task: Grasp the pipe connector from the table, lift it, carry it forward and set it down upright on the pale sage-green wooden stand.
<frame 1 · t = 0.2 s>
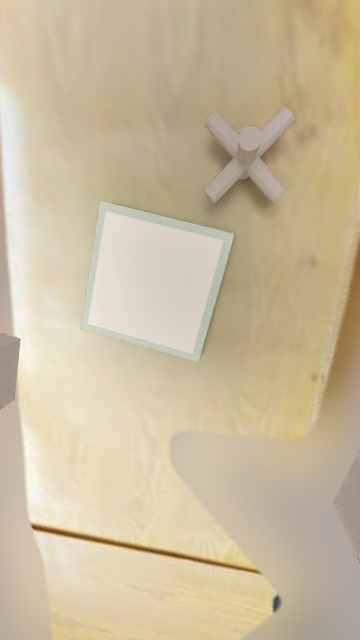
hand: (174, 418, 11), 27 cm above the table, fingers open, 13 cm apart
stand: (157, 282, 37), on the table
pipe connector: (242, 171, 33), on the table
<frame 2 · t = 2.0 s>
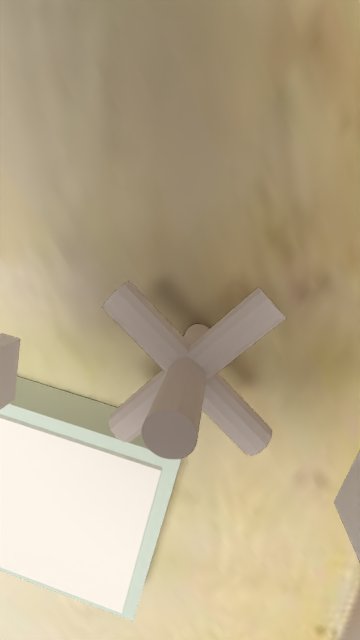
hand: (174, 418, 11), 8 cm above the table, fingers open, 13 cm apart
stand: (70, 479, 23), on the table
pipe connector: (198, 336, 19), on the table
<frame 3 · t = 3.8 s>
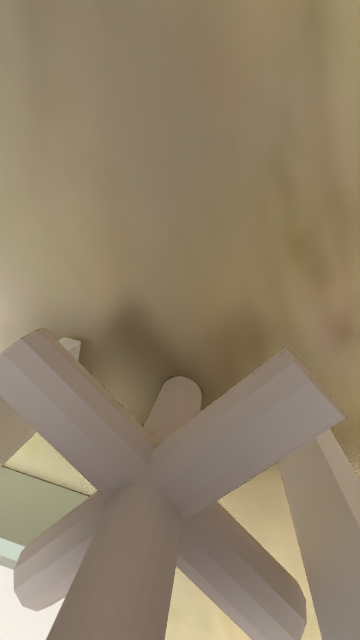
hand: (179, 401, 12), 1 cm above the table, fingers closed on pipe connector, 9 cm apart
stand: (8, 578, 17), on the table
pipe connector: (181, 393, 12), on the table, touching gripper
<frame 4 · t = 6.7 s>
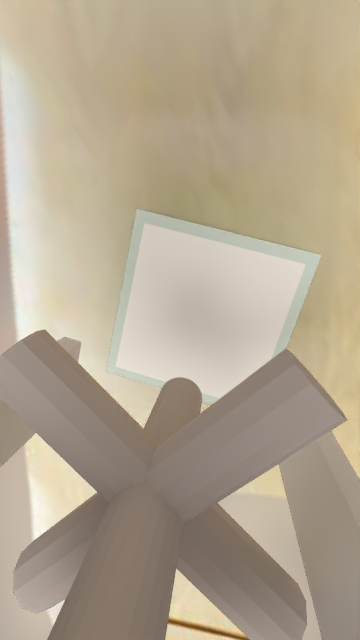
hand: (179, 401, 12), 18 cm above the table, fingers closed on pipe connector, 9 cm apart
stand: (204, 312, 29), on the table
pipe connector: (181, 394, 12), point 17 cm above the table, touching gripper
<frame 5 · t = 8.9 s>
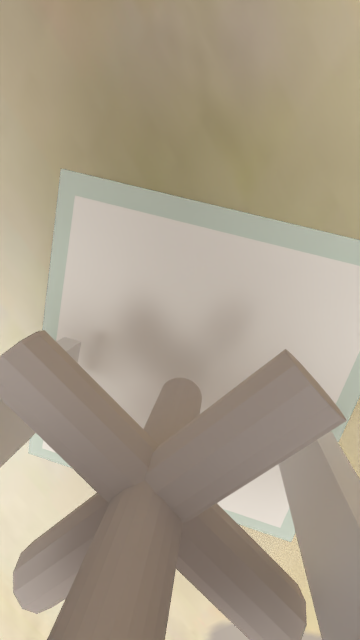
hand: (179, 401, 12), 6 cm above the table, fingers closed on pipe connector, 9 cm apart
stand: (194, 353, 17), on the table
pipe connector: (181, 394, 12), point 5 cm above the table, touching gripper
when the fingers open (5 cm above the table, at t = 10.0 s): pipe connector drops 1 cm, resting on stand.
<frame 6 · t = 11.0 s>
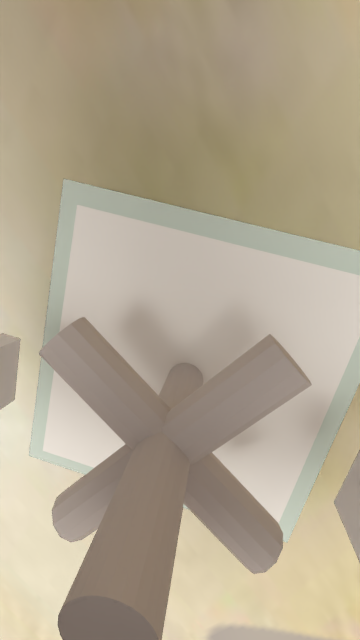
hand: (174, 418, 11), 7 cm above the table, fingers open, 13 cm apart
stand: (191, 357, 18), on the table
pipe connector: (186, 378, 15), point 3 cm above the table, touching stand
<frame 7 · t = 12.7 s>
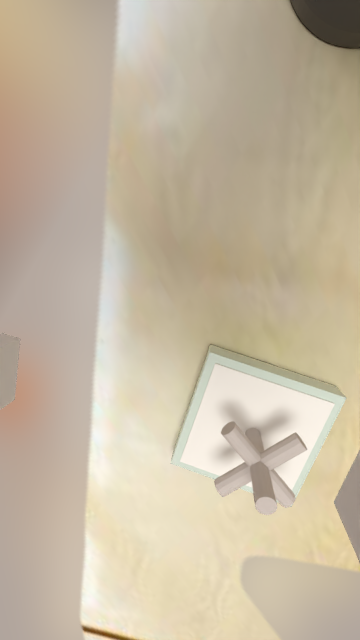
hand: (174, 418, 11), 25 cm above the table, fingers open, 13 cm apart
stand: (249, 419, 37), on the table
pipe connector: (252, 433, 34), point 3 cm above the table, touching stand
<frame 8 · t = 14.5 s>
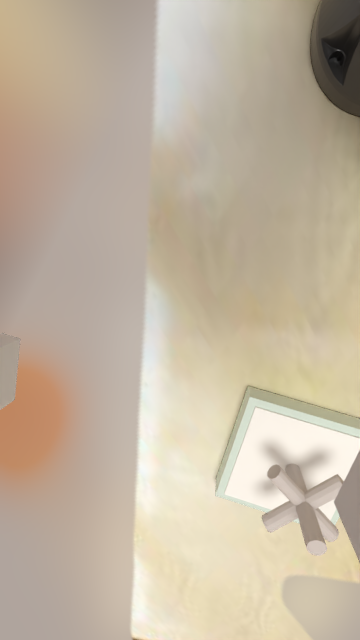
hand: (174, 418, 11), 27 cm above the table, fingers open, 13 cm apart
stand: (287, 452, 40), on the table
pipe connector: (292, 468, 37), point 3 cm above the table, touching stand
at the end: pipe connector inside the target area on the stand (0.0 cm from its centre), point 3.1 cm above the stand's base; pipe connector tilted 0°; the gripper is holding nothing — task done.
